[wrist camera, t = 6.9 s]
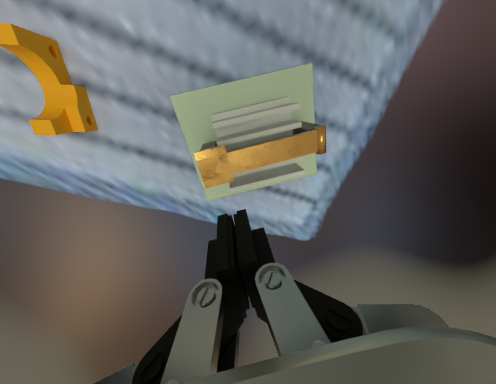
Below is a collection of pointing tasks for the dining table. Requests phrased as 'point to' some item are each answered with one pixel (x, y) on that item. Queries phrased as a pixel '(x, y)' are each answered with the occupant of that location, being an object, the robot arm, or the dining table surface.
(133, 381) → the robot arm
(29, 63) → the pipe clamp
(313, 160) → the board
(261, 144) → the strap
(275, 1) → the dining table surface
